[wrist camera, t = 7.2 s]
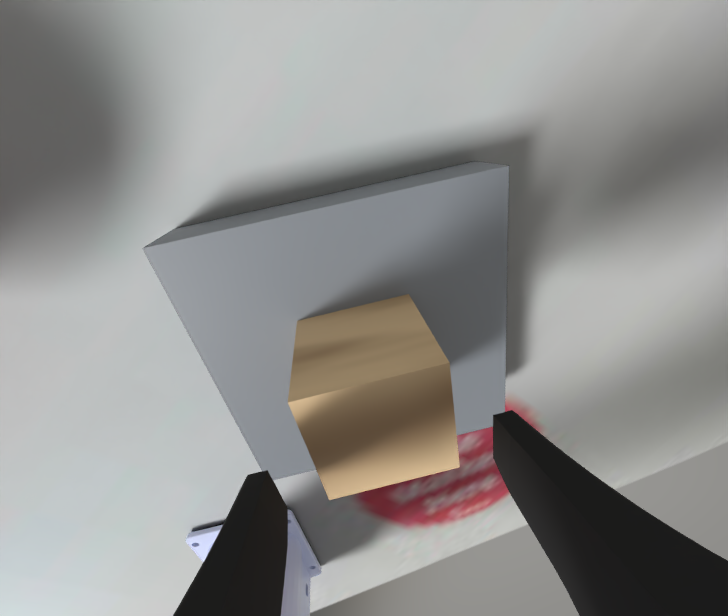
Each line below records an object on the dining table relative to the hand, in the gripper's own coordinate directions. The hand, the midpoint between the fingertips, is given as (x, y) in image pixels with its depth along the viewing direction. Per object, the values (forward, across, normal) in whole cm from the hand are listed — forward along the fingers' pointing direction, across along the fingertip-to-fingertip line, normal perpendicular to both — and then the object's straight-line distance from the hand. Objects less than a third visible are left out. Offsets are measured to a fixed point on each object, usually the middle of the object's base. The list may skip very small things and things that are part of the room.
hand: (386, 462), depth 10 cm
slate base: (+9, 0, 0) cm, 9 cm away
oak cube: (+6, 0, 0) cm, 6 cm away
